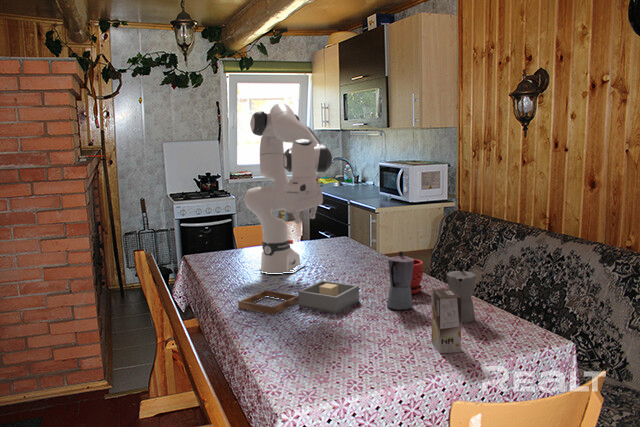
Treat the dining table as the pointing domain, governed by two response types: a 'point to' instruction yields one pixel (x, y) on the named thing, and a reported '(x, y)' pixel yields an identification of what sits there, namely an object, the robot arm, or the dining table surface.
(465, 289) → the coffeepot
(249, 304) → the frame
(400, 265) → the moka pot
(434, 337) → the coffee box
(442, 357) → the dining table surface
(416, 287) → the plant pot
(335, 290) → the tan block
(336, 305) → the bin
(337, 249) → the dining table surface
